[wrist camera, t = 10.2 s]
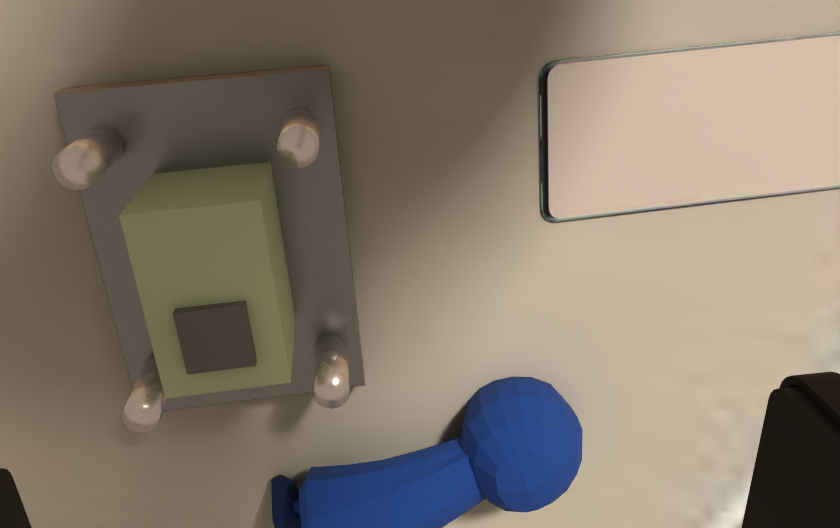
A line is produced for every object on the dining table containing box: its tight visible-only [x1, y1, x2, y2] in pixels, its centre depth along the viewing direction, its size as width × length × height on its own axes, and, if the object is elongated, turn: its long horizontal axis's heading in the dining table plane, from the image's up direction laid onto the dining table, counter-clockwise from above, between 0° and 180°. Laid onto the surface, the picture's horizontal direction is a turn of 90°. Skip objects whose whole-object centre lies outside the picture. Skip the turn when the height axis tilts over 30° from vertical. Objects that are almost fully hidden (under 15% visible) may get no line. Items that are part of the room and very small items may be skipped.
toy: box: [271, 377, 582, 528], centre depth 33 cm, size 7×6×15 cm
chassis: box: [52, 65, 365, 433], centre depth 28 cm, size 14×10×5 cm
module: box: [119, 162, 296, 399], centre depth 27 cm, size 7×4×5 cm, turn 4°
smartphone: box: [539, 32, 840, 222], centre depth 31 cm, size 7×1×15 cm
